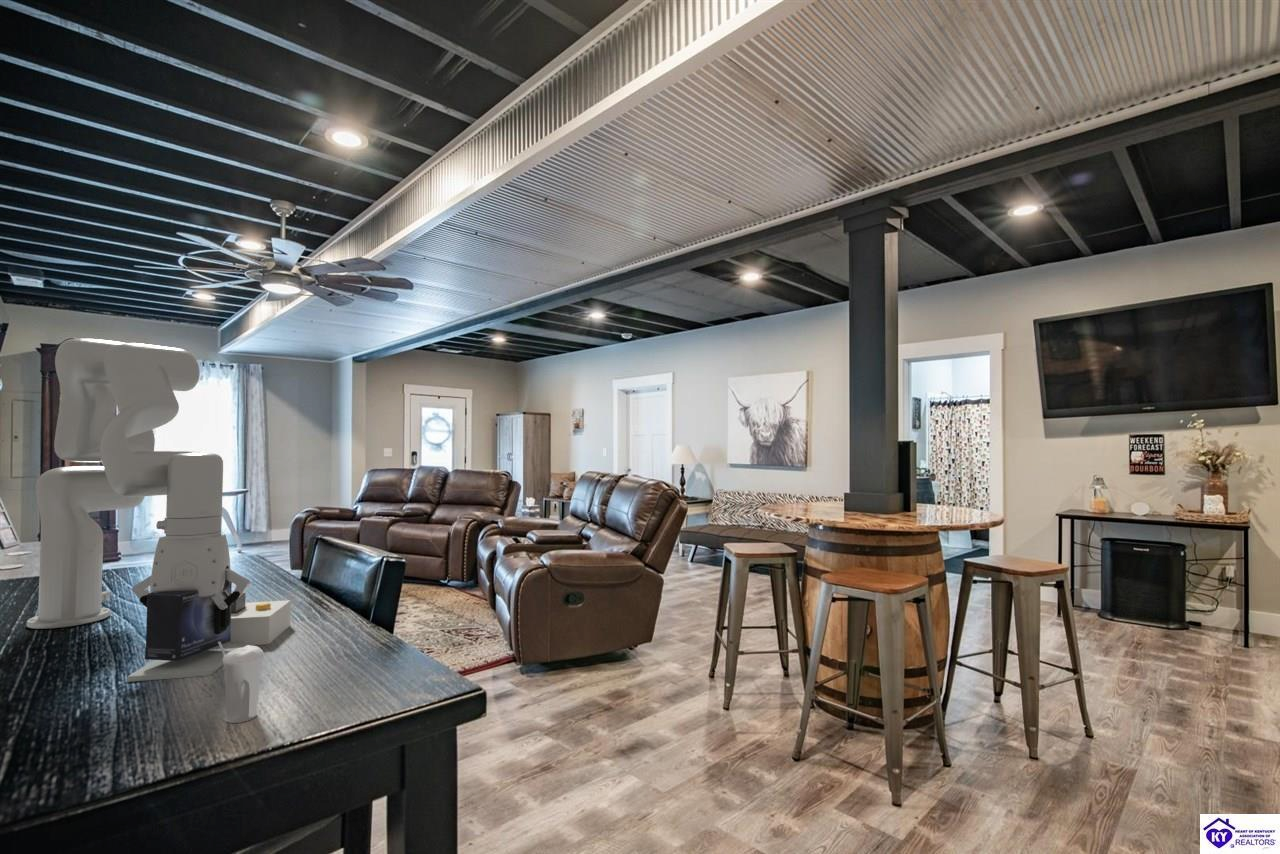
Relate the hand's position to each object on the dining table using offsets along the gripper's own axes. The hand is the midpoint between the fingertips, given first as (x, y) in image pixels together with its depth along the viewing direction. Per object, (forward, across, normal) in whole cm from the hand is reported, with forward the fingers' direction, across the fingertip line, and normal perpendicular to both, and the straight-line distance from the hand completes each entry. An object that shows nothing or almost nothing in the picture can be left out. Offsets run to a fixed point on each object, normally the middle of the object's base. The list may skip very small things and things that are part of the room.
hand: (191, 633), depth 101 cm
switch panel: (+5, +2, +14) cm, 15 cm away
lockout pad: (+5, 0, 0) cm, 5 cm away
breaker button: (+3, 0, +14) cm, 14 cm away
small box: (+3, 0, 0) cm, 3 cm away
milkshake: (+5, +16, -25) cm, 30 cm away
